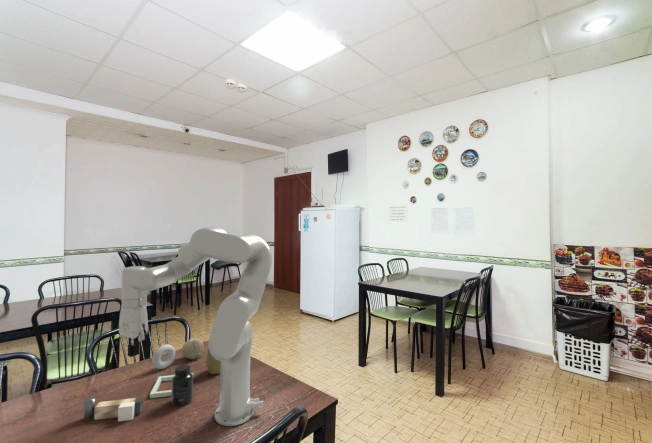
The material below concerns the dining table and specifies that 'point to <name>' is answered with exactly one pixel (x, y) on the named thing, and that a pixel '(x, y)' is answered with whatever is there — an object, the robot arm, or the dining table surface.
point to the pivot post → (89, 408)
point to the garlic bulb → (192, 349)
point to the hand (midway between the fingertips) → (133, 355)
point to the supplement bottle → (182, 386)
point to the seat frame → (161, 378)
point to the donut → (159, 352)
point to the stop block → (126, 411)
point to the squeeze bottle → (213, 364)
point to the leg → (115, 408)
